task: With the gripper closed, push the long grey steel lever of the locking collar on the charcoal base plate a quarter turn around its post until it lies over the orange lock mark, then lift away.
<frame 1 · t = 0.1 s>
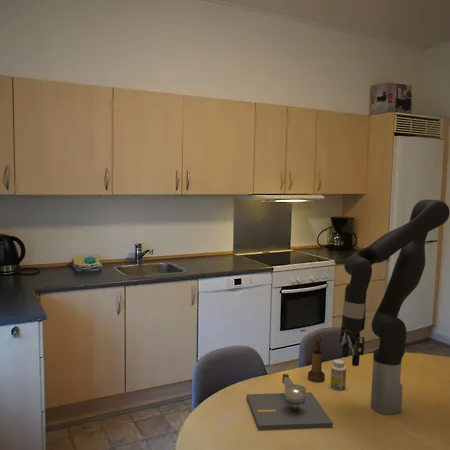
hand: (349, 361, 155), 17 cm above the table, tool pointing down, fingers open, 8 cm apart
lever handle: (290, 392, 156), point 5 cm above the table, hinge at 0.0°
wooden pepper mill: (316, 379, 181), on the table
supplement bottle: (337, 387, 174), on the table
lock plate: (286, 411, 153), on the table
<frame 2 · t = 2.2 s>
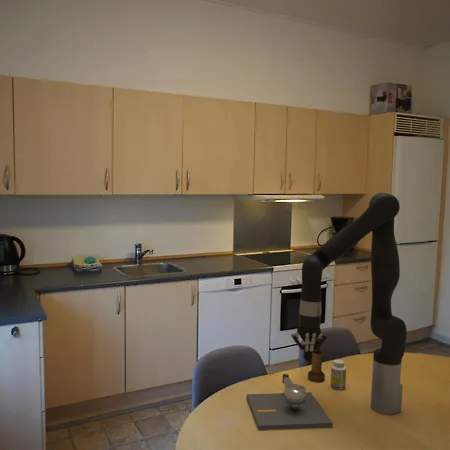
hand: (307, 360, 161), 15 cm above the table, tool pointing down, fingers closed
nothing on the table moved.
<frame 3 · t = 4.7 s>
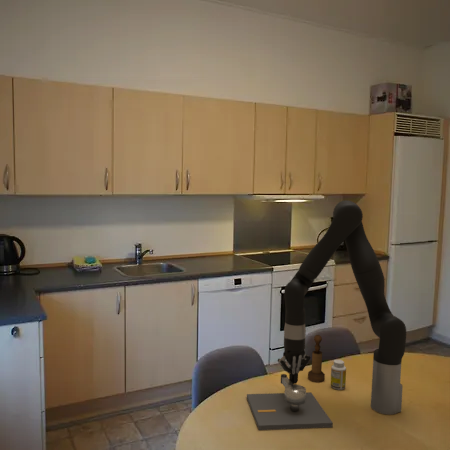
hand: (293, 383, 161), 7 cm above the table, tool pointing down, fingers closed
lever handle: (290, 392, 156), point 5 cm above the table, hinge at 3.0°, touching gripper
everything else where it was.
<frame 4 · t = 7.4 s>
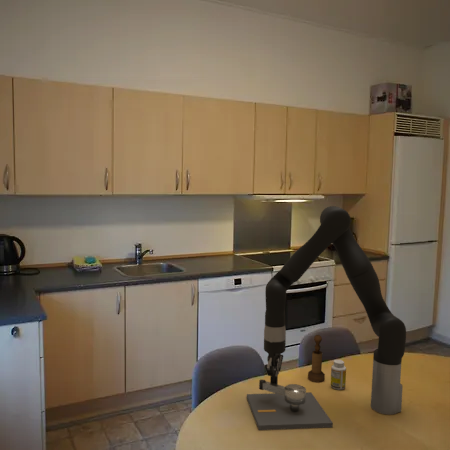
hand: (273, 385, 158), 7 cm above the table, tool pointing down, fingers closed
lever handle: (281, 394, 154), point 5 cm above the table, hinge at 49.2°, touching gripper
everything else where it was.
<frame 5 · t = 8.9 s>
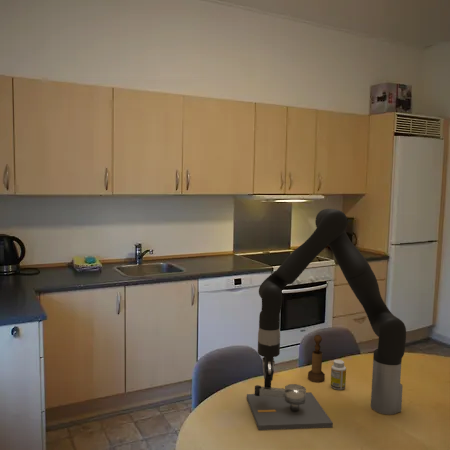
hand: (267, 389, 155), 7 cm above the table, tool pointing down, fingers closed
lever handle: (279, 397, 152), point 5 cm above the table, hinge at 73.7°, touching gripper
everything else where it was.
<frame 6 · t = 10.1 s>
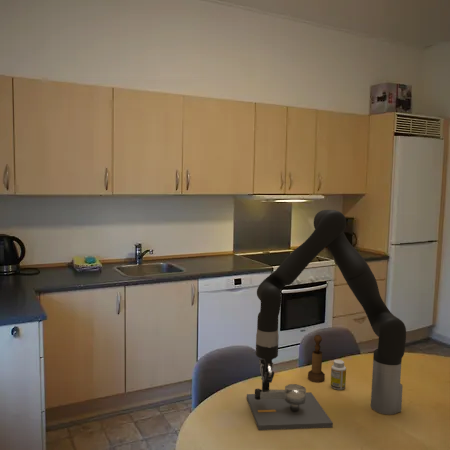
hand: (265, 391, 153), 7 cm above the table, tool pointing down, fingers closed
lever handle: (280, 398, 151), point 5 cm above the table, hinge at 85.6°
everything else where it was.
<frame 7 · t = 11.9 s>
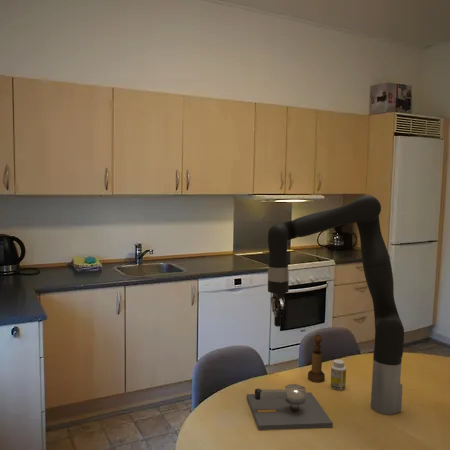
hand: (277, 325, 165), 26 cm above the table, tool pointing down, fingers closed
nothing on the table moved.
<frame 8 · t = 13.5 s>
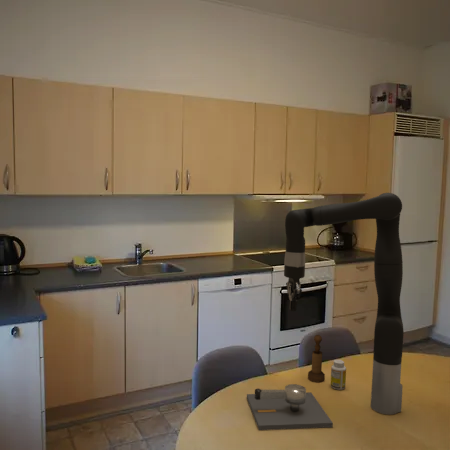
hand: (292, 310, 167), 31 cm above the table, tool pointing down, fingers closed
nothing on the table moved.
at the end: lever handle at +86° (first picture: +0°) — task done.
